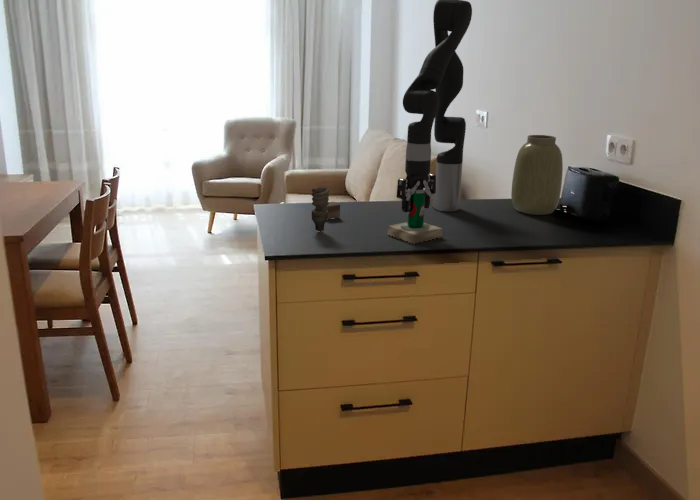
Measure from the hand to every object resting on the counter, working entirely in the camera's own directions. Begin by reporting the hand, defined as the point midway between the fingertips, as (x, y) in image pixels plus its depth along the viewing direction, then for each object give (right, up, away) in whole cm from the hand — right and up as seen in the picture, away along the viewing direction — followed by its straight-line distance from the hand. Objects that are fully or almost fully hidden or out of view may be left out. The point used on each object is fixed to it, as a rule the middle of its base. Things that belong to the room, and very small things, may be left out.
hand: (415, 209), depth 194 cm
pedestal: (0, -8, +3) cm, 9 cm away
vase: (+47, +2, +36) cm, 60 cm away
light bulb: (-30, -7, +5) cm, 31 cm away
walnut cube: (-27, +3, +21) cm, 35 cm away
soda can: (0, -5, +2) cm, 6 cm away
